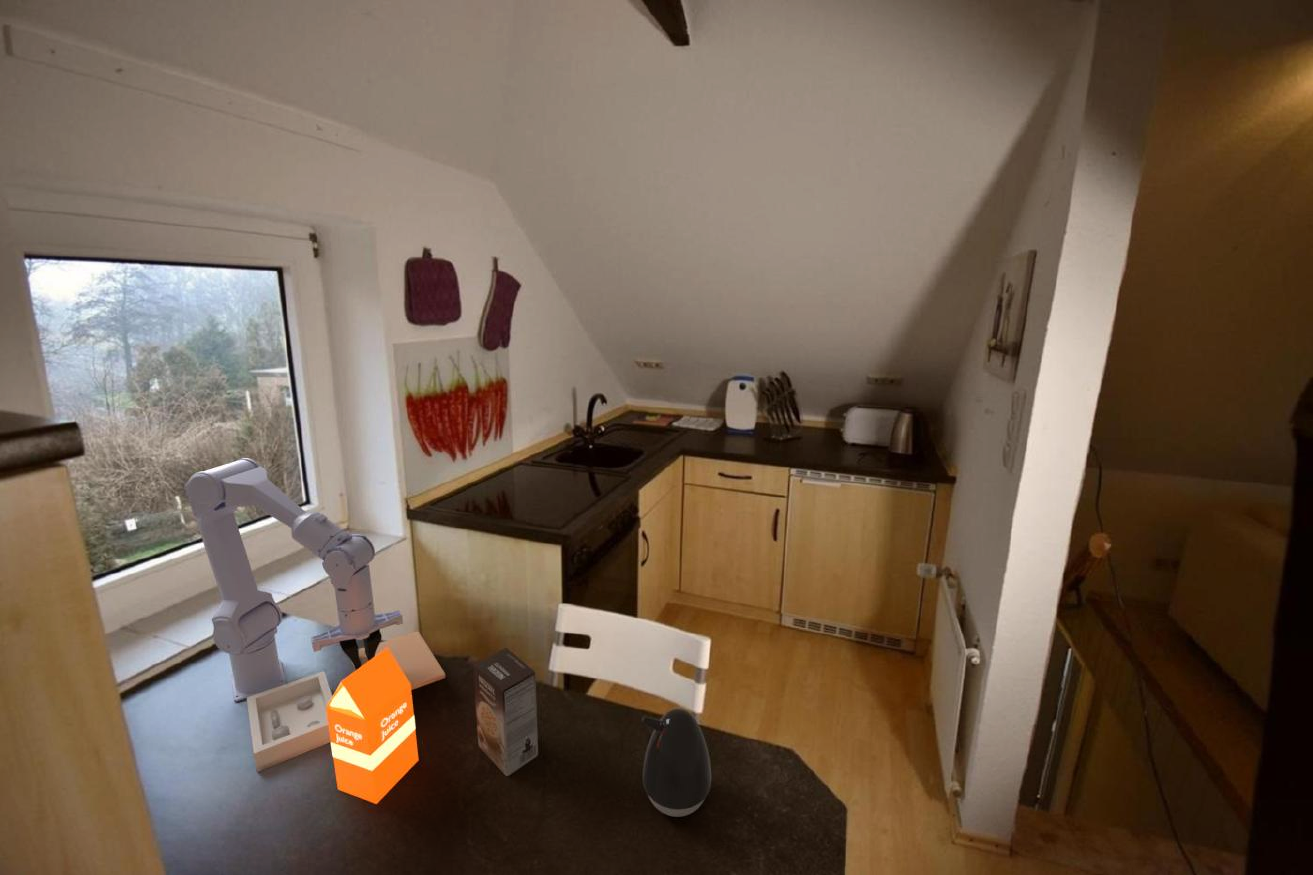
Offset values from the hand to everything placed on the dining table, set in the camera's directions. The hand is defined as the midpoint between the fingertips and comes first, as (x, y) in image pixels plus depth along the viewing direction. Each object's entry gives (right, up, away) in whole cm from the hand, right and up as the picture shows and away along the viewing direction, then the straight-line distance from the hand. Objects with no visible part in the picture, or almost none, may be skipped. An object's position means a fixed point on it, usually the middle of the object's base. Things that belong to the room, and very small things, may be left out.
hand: (363, 669), depth 103 cm
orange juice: (+10, -10, -15) cm, 21 cm away
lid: (+4, -1, +4) cm, 6 cm away
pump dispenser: (+57, -12, -19) cm, 61 cm away
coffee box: (+29, -9, -10) cm, 33 cm away
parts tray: (-9, -7, -6) cm, 13 cm away
